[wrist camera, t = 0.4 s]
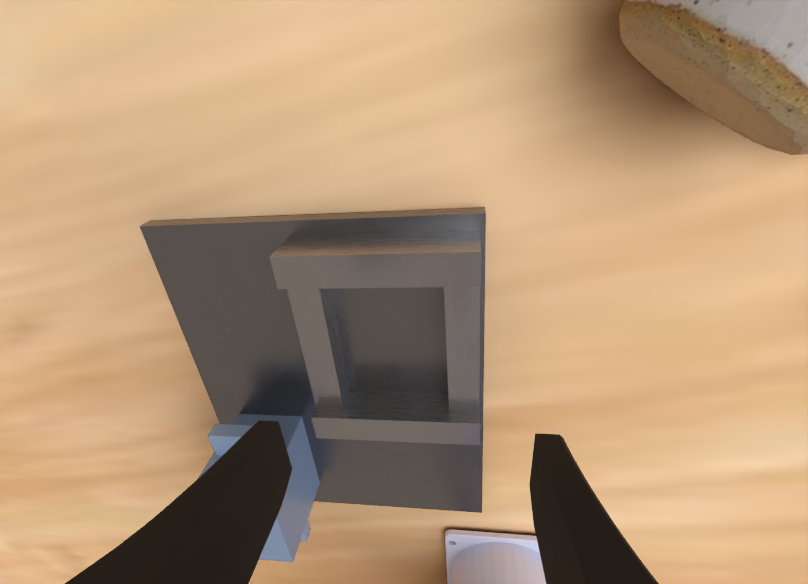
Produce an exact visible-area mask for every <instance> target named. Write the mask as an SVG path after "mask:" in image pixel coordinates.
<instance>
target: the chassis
mask: <svg viewBox="0 0 808 584" xmlns="http://www.w3.org/2000/svg"><path fill="white" fill-rule="evenodd" d="M485 223H486V212H485V207H482V208H457V209H432V210H407V211H381V212H356V213H331V214H306V215H281V216H255V217H230V218H205V219H180V220H155V221H149V222H147V223H145V224H143V225H142V226H140V228H141V231H142V233H143V236H144V238H145V240H146V243H147V245H148V248H149V250H150V253H151V255H152V258H153V260H154V262H155V265H156V267H157V270H158V272H159V275H160V277H161V280H162V282H163V285H164V287H165V289H166V292H167V294H168V297H169V299H170V302H171V304H172V307H173V309H174V312H175V314H176V316H177V319H178V321H179V324H180V326H181V329H182V331H183V334H184V336H185V339H186V341H187V343H188V346H189V348H190V351H191V353H192V356H193V358H194V361H195V363H196V366H197V368H198V370H199V373H200V375H201V378H202V380H203V383H204V385H205V388H206V390H207V392H208V395H209V397H210V400H211V402H212V405H213V407H214V410H215V412H216V415H217V417H218V419H219V422H220V424H229V425H232V424H233V422H234V421H235V419H236V418H237V416H238V414H252V415H280V416H302V419H303V422H304V426H305V430H306V433H307V437H308V441H309V444H310V448H311V452H312V455H313V459H314V463H315V466H316V470H317V474H318V477H319V481H320V484H319V487H318V490H317V493H316V496H315V499H314V501H320V502H335V503H349V504H364V505H378V506H393V507H408V508H422V509H437V510H452V511H466V512H481V513H482V455H483V378H484V301H485Z"/></svg>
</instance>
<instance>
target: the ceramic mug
mask: <svg viewBox="0 0 808 584" xmlns="http://www.w3.org/2000/svg"><path fill="white" fill-rule="evenodd" d="M619 24H620V37H621V40H622V43H623V44H624V45H625V47H626V48H627V50H628V51H629V52H630V53H631V54H632V55H633V56H634V58H635V59H636V60H637V61H638V62H639V63H640V64H642V65H643V66H644V67H645V68H646V69H647V70H648V71H649V72H650V73H651V74H652V75H654V76H655V77H656V78H657V79H659V80H660V81H661V82H662V83H664V84H665V85H666V86H667V87H669V88H670V89H671V90H673V91H674V92H675V93H677V94H678V95H680V96H681V97H682V98H684V99H685V100H687V101H688V102H689V103H691V104H692V105H694V106H695V107H697V108H698V109H700V110H701V111H703V112H704V113H706V114H707V115H709V116H710V117H712V118H713V119H715V120H717V121H718V122H720V123H721V124H723V125H725V126H726V127H728V128H730V129H732V130H733V131H735V132H737V133H739V134H741V135H743V136H744V137H746V138H748V139H750V140H752V141H754V142H756V143H758V144H760V145H763V146H765V147H767V148H770V149H774V150H778V151H781V152H784V153H787V154H790V155H797V154H808V0H625V1H624V3H623V6H622V8H621V11H620V13H619Z"/></svg>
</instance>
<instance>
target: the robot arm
mask: <svg viewBox="0 0 808 584" xmlns="http://www.w3.org/2000/svg"><path fill="white" fill-rule="evenodd" d="M291 472H292V466H291V462H290V459H289V455H288V452H287V449H286V445H285V442H284V438H283V435H282V432H281V428H280V425H279V421H263V420H259V421H258V422H257V423H256V424H254V425H253V426H252V427H251V428H250V429H249V430H248V431H247V432H246V433H245V434H244V435H243V436H242V437H241V438H240V439H239V440H238V441H237V442H236V443H235V444H234V445H233V446H232V447H231V448H230V449H229V450H228V451H227V452H226V453H225V454H224V455H223V456H222V457H221V458H220V459H218V460H217V461H216V462H215V463H214V464H213V465H212V466H211V467H210V468H209V469H208V470H207V471H206V472H205V473H204V474H203V475H202V476H201V477H200V478H198V479H197V480H196V481H195V482H194V483H193V484H192V485H191V486H190V487H189V488H188V489H186V490H185V491H184V492H183V493H182V494H181V495H180V496H179V497H177V498H176V499H175V500H174V501H173V502H172V503H171V504H170V505H168V506H167V507H166V508H165V509H164V510H163V511H162V512H160V513H159V514H158V515H157V516H156V517H154V518H153V519H152V520H151V521H149V522H148V523H147V524H146V525H145V526H143V527H142V528H141V529H140V530H138V531H137V532H136V533H134V534H133V535H132V536H131V537H129V538H128V539H127V540H125V541H124V542H123V543H121V544H120V545H119V546H117V547H116V548H115V549H113V550H112V551H111V552H109V553H108V554H106V555H105V556H104V557H102V558H101V559H99V560H98V561H97V562H95V563H94V564H92V565H91V566H89V567H88V568H87V569H85V570H84V571H82V572H81V573H79V574H78V575H77V576H75V577H74V578H72V579H71V580H69V581H68V582H66V583H65V584H248V583H249V581H250V579H251V576H252V574H253V572H254V569H255V567H256V565H257V562H258V560H259V558H260V555H261V553H262V551H263V548H264V546H265V544H266V541H267V539H268V537H269V534H270V532H271V530H272V527H273V525H274V523H275V520H276V518H277V516H278V513H279V511H280V508H281V506H282V503H283V500H284V496H285V493H286V490H287V487H288V483H289V480H290V476H291ZM530 492H531V502H532V511H533V520H534V527H535V532H536V536H533V535H519V534H506V533H493V532H480V531H466V530H453V529H450V530H447V531H446V532H445V548H446V565H447V583H448V584H658V582H657V581H656V580H655V579H654V577H653V576H652V575H651V573H650V572H649V571H648V569H647V568H646V567H645V566H644V564H643V563H642V562H641V560H640V559H639V558H638V556H637V555H636V553H635V552H634V551H633V549H632V548H631V547H630V545H629V544H628V542H627V541H626V540H625V538H624V537H623V535H622V534H621V533H620V531H619V530H618V528H617V527H616V525H615V524H614V522H613V521H612V520H611V518H610V516H609V515H608V513H607V512H606V510H605V509H604V507H603V506H602V504H601V503H600V501H599V500H598V498H597V497H596V495H595V493H594V492H593V490H592V489H591V487H590V485H589V484H588V482H587V480H586V479H585V477H584V475H583V474H582V472H581V470H580V469H579V467H578V465H577V463H576V462H575V460H574V458H573V456H572V454H571V452H570V450H569V449H568V447H567V445H566V443H565V441H564V439H563V437H561V436H560V435H555V434H535V442H534V451H533V460H532V469H531V477H530Z"/></svg>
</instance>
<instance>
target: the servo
mask: <svg viewBox="0 0 808 584" xmlns="http://www.w3.org/2000/svg"><path fill="white" fill-rule="evenodd" d="M259 420H263V421H279V425H280V428H281V432H282V435H283V438H284V442H285V445H286V449H287V452H288V455H289V459H290V462H291V466H292V472H291V476H290V480H289V483H288V487H287V490H286V493H285V496H284V500H283V503H282V506H281V508H280V511H279V513H278V516H277V518H276V520H275V523H274V525H273V527H272V530H271V532H270V534H269V537H268V539H267V541H266V544H265V546H264V548H263V551H262V553H261V555H260V558H259V559H263V560H274V561H285V562H293V561H294V558H295V555H296V552H297V549H298V546H299V543H300V541H306V542H307V539H308V536H309V533H310V530H311V528H310V525H309V522H308V517H309V514H310V511H311V508H312V505H313V502H314V499H315V496H316V493H317V490H318V487H319V484H320V481H319V477H318V474H317V470H316V466H315V463H314V459H313V455H312V452H311V448H310V444H309V441H308V437H307V433H306V430H305V426H304V422H303V419H302V416H280V415H252V414H238V416H237V418H236V419H235V421H234V422H233V424H232V425H229V424H215V426H214V427H213V429H212V430H211V432H210V433H209V434H208V437H209V440H210V442H211V444H212V447H213V449H214V451H215V452H214V454H213V456H212V457H211V459H210V460H209V462H208V464H207V465H206V467H205V468H204V470H203V471H202V473H201V475H200V476H199V478H200V477H201V476H202V475H203V474H204V473H205V472H206V471H207V470H208V469H209V468H210V467H211V466H212V465H213V464H214V463H215V462H216V461H217V460H218V459H220V458H221V457H222V456H223V455H224V454H225V453H226V452H227V451H228V450H229V449H230V448H231V447H232V446H233V445H234V444H235V443H236V442H237V441H238V440H239V439H240V438H241V437H242V436H243V435H244V434H245V433H246V432H247V431H248V430H249V429H250V428H251V427H252V426H253V425H254V424H256V423H257V422H258V421H259Z"/></svg>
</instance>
